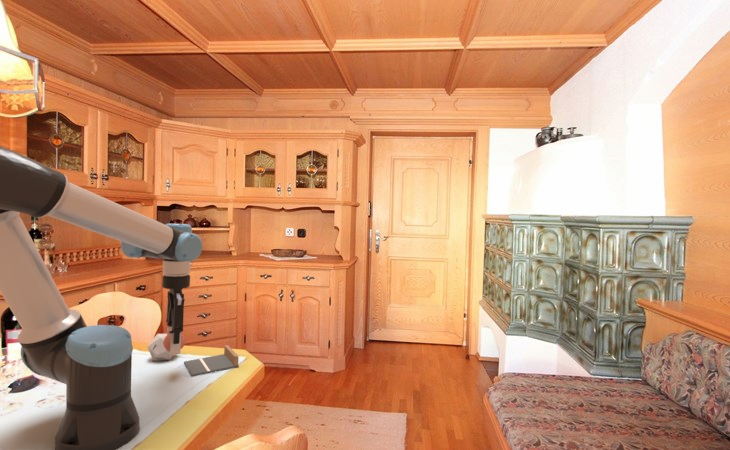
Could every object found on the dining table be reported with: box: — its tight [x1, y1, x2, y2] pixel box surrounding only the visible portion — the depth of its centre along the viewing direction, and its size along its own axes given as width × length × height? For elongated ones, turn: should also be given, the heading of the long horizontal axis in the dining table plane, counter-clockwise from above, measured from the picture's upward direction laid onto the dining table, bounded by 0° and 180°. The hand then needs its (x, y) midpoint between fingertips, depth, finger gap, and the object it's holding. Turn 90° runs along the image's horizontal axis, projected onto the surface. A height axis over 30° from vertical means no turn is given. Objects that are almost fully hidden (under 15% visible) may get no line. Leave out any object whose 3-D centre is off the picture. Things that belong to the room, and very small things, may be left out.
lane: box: [183, 344, 239, 377], centre depth 123 cm, size 14×12×4 cm
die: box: [146, 333, 174, 361], centre depth 128 cm, size 8×9×10 cm
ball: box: [163, 332, 186, 352], centre depth 115 cm, size 6×6×6 cm
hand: (173, 350), depth 114 cm, fingers closed on ball, 6 cm apart
